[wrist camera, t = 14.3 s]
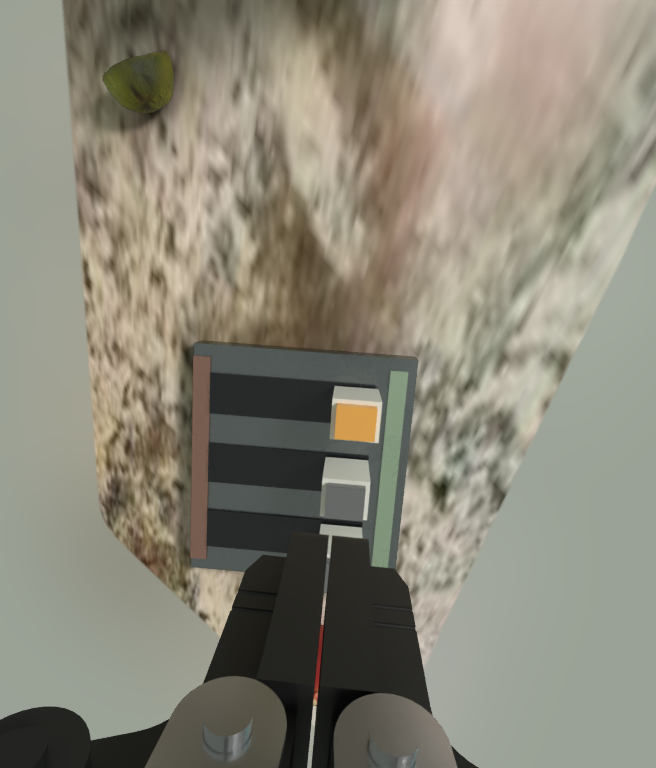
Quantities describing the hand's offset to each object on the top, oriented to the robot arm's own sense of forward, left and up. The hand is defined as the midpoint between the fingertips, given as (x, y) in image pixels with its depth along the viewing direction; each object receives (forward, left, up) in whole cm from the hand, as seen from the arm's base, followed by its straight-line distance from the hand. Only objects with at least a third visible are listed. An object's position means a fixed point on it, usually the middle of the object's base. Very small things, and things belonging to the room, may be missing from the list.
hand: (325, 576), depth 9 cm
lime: (-20, -16, -31) cm, 40 cm away
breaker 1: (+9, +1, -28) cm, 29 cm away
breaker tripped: (+3, +1, -28) cm, 28 cm away
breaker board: (+9, -3, -30) cm, 32 cm away
